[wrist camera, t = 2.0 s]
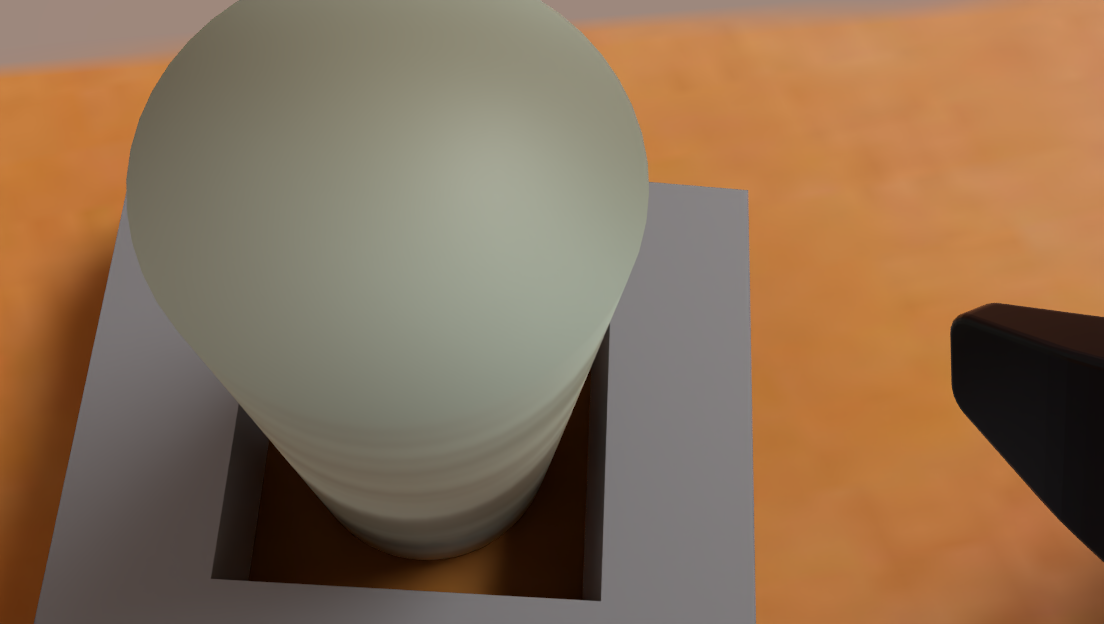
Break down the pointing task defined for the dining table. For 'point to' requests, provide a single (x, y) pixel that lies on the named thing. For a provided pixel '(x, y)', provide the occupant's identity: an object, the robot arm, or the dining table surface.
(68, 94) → the dining table surface
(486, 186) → the peg
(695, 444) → the pocket board
